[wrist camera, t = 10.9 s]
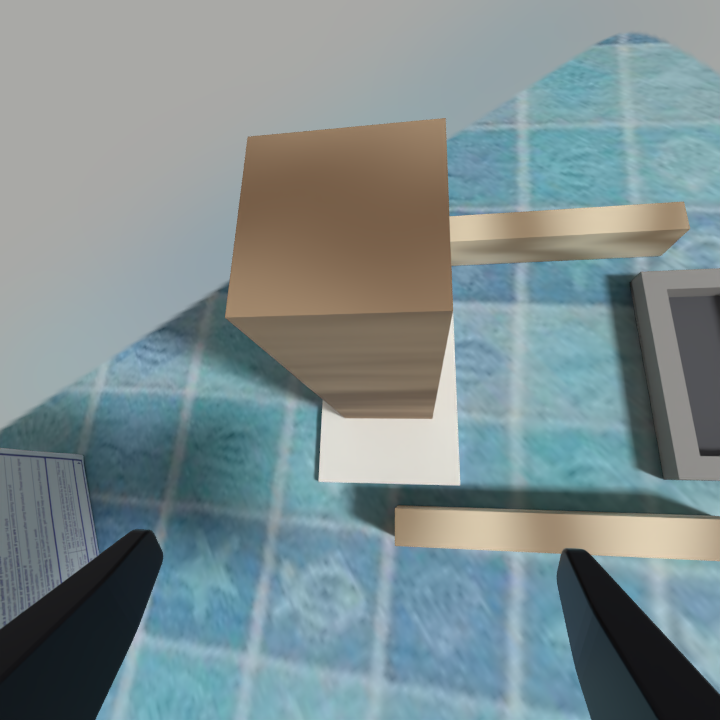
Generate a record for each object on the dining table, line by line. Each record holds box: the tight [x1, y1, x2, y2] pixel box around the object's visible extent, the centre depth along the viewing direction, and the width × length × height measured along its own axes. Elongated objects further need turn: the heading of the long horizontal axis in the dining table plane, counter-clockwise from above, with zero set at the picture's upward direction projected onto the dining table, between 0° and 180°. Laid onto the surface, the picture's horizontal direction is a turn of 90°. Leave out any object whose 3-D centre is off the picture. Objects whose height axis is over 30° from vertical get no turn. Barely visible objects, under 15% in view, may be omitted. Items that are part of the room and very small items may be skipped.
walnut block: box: [225, 118, 453, 419], centre depth 15 cm, size 4×4×14 cm
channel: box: [395, 202, 720, 561], centre depth 20 cm, size 14×16×2 cm
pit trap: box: [630, 268, 720, 481], centre depth 19 cm, size 6×10×1 cm, turn 179°
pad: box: [319, 314, 460, 486], centre depth 22 cm, size 7×11×1 cm, turn 179°
